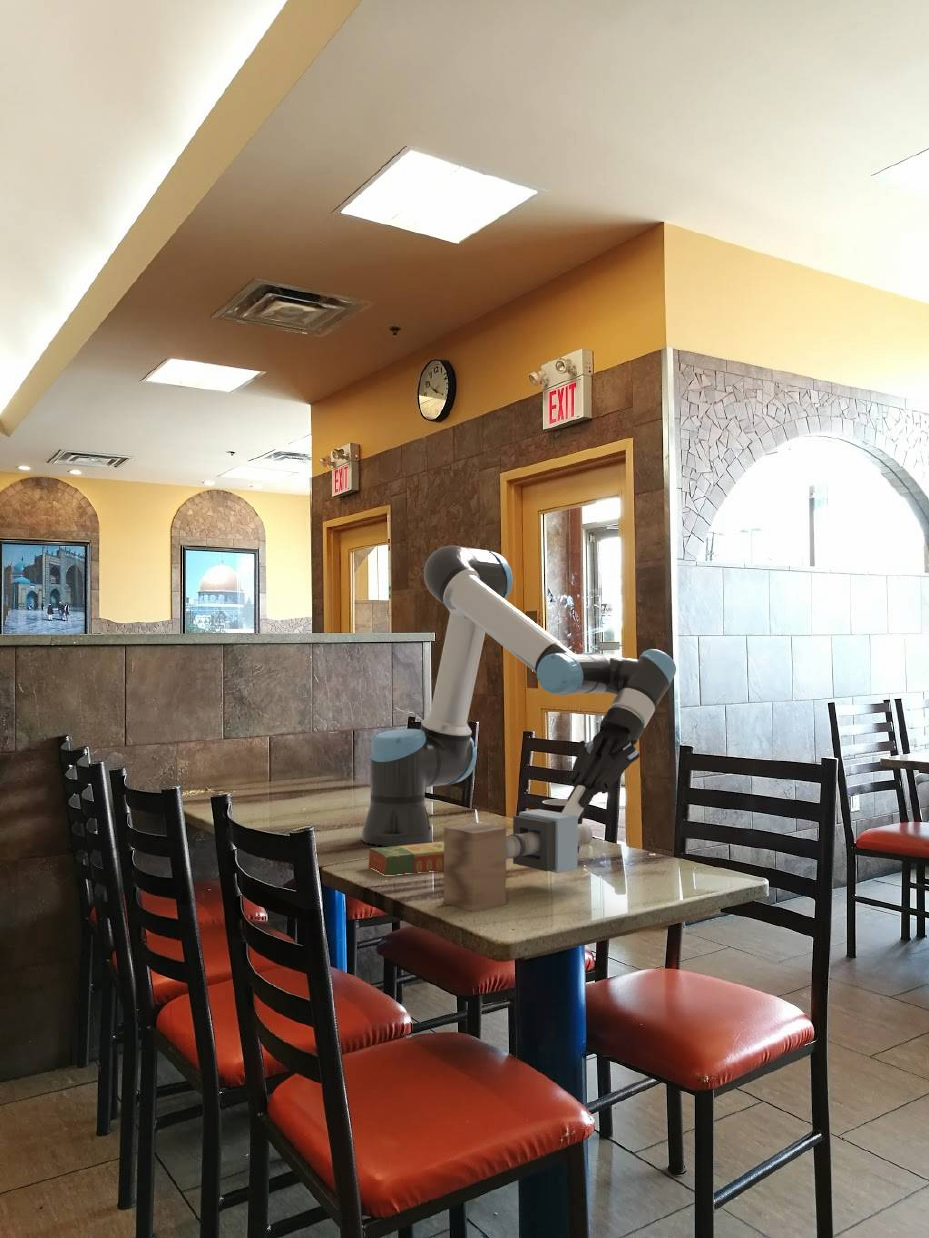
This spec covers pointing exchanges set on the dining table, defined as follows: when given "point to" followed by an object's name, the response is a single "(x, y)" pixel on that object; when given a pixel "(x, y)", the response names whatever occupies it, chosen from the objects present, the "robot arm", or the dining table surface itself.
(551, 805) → the coffee mug
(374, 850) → the carton
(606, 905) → the dining table surface
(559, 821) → the sleeve
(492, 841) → the pipe mount
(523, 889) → the dining table surface
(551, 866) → the dark gray square plate
